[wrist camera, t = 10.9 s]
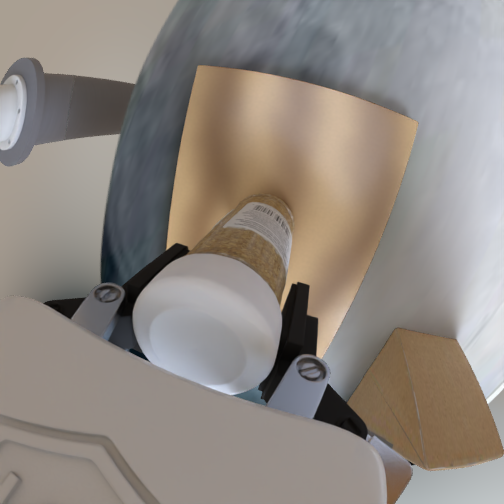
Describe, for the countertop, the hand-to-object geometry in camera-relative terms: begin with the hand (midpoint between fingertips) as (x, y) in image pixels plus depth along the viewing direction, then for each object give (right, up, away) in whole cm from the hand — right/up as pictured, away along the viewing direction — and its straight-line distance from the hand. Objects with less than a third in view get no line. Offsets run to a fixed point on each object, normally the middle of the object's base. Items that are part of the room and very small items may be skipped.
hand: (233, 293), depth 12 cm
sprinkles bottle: (+2, +4, +8) cm, 9 cm away
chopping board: (+2, +4, +9) cm, 10 cm away
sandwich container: (+17, -13, +13) cm, 24 cm away
